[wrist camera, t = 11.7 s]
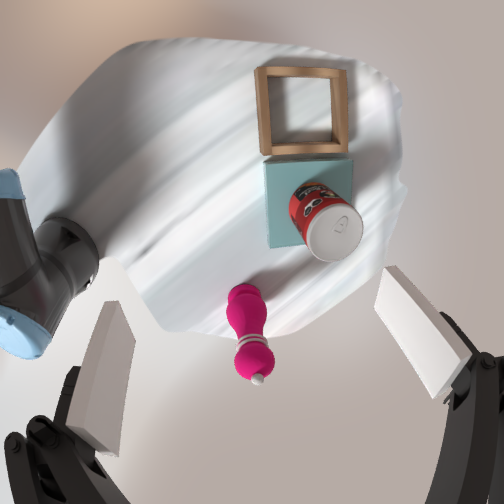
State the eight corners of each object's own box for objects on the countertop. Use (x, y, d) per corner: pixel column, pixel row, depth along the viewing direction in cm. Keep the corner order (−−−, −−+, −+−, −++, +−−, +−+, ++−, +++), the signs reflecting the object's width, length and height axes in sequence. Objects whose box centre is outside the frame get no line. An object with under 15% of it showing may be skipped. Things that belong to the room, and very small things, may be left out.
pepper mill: (217, 300, 53) (222, 388, 35) (241, 275, 50) (255, 363, 33) (247, 316, 55) (261, 400, 38) (270, 293, 53) (294, 377, 36)
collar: (260, 151, 40) (263, 155, 37) (254, 70, 34) (257, 66, 31) (338, 148, 41) (348, 152, 38) (336, 72, 34) (346, 70, 31)
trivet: (267, 243, 48) (269, 248, 46) (263, 161, 41) (265, 164, 39) (343, 234, 49) (347, 239, 47) (347, 158, 42) (352, 160, 40)
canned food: (336, 183, 42) (370, 207, 32) (327, 228, 45) (355, 263, 36) (290, 178, 40) (314, 202, 31) (283, 226, 44) (302, 262, 35)
